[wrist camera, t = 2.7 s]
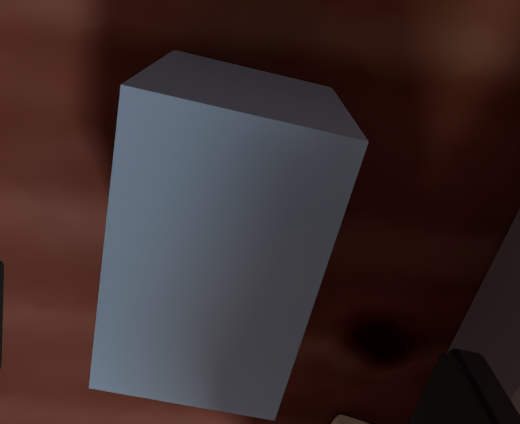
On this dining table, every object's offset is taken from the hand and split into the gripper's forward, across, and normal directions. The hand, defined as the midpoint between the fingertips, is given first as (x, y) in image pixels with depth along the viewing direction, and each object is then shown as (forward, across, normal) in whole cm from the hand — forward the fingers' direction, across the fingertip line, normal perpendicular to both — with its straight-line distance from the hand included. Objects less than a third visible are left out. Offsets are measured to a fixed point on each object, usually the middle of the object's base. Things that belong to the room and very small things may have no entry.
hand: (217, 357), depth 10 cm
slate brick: (+7, +1, -1) cm, 8 cm away
